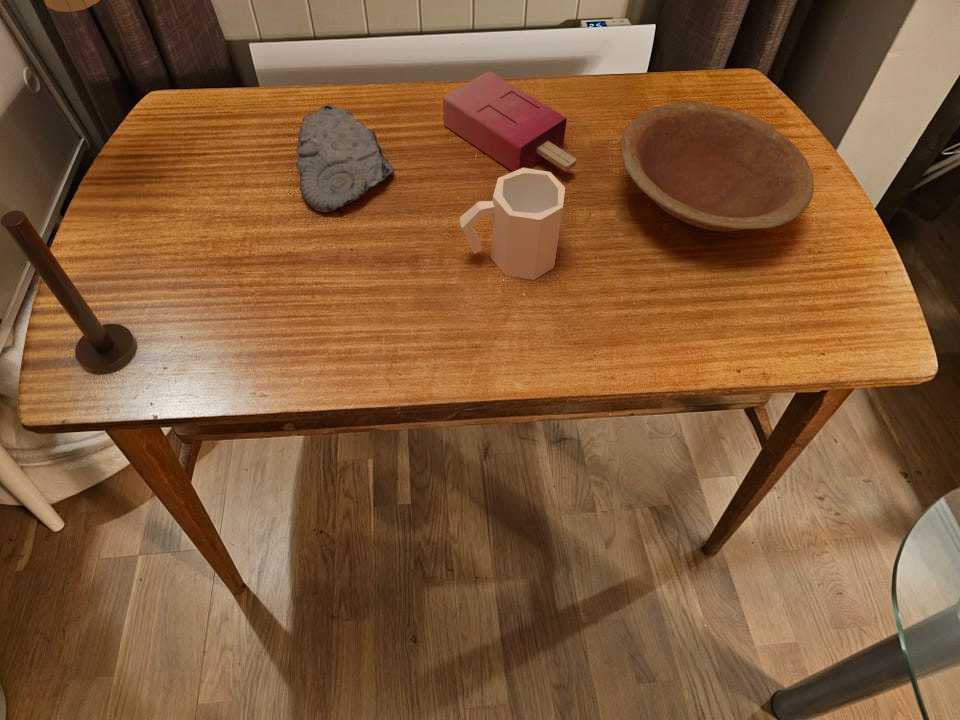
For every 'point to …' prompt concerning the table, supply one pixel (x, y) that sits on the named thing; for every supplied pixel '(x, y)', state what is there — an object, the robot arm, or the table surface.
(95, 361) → the stand
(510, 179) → the mug
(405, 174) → the table surface
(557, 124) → the popsicle
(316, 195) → the fossil
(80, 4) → the faceted pencil cup
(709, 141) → the bowl
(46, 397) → the table surface
